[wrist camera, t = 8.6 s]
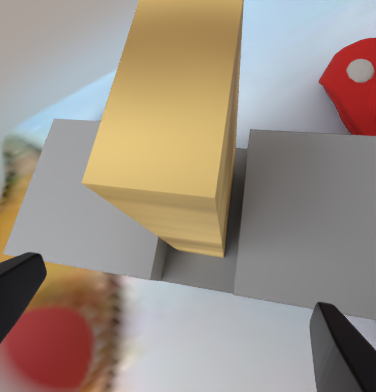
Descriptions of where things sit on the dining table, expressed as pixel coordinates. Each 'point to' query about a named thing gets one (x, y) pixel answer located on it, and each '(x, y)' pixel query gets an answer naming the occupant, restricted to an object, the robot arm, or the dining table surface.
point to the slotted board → (237, 223)
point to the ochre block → (174, 123)
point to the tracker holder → (354, 86)
